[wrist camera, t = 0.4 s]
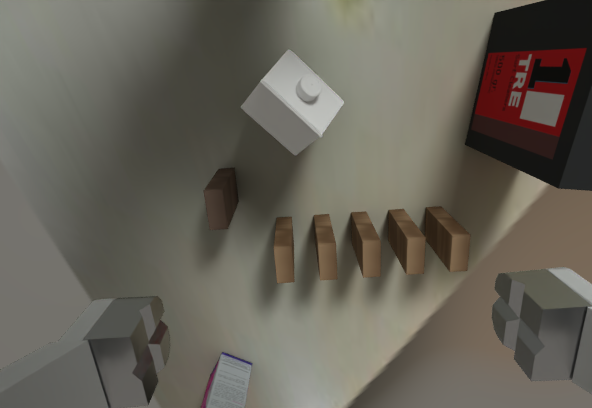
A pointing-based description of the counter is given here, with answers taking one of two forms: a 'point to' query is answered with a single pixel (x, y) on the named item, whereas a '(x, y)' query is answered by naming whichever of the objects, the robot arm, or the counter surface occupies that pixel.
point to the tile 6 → (447, 239)
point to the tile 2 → (284, 250)
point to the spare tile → (221, 198)
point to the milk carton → (293, 103)
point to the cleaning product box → (538, 93)
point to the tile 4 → (366, 244)
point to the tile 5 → (406, 241)
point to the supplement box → (228, 383)
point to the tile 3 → (325, 247)
